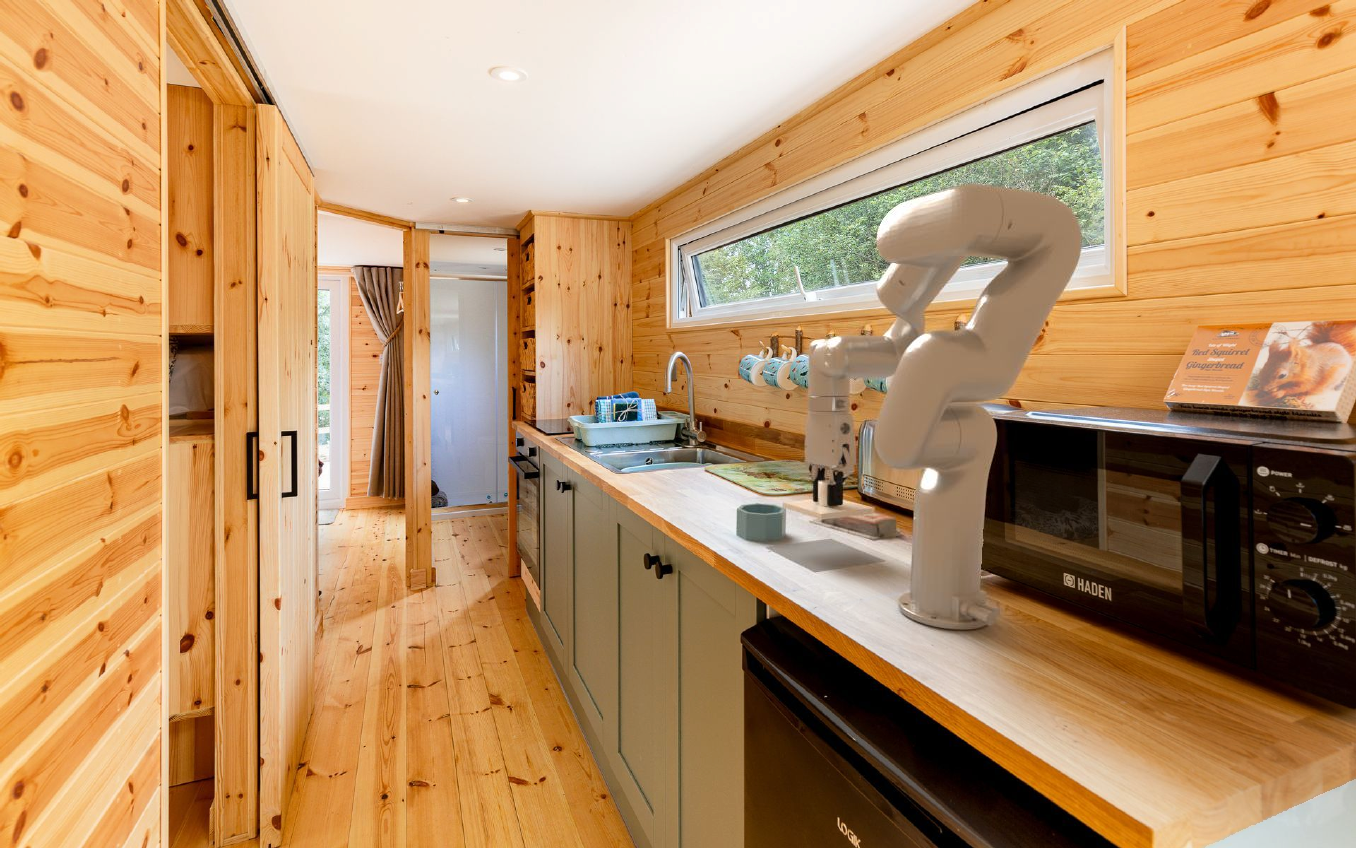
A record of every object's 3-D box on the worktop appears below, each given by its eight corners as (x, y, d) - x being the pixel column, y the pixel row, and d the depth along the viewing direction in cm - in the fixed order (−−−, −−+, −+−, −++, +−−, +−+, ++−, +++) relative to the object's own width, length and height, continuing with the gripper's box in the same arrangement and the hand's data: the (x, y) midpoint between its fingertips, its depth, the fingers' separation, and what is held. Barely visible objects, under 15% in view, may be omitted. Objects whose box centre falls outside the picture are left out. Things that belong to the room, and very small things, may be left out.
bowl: (793, 540, 134) (793, 511, 133) (753, 545, 130) (753, 516, 129) (767, 528, 143) (768, 502, 142) (729, 533, 139) (730, 506, 138)
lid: (874, 513, 119) (875, 483, 119) (821, 519, 114) (821, 488, 114) (833, 502, 130) (833, 474, 129) (782, 507, 125) (783, 479, 124)
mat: (885, 562, 120) (885, 560, 120) (814, 574, 113) (814, 572, 113) (830, 540, 134) (831, 538, 134) (765, 549, 128) (765, 547, 128)
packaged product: (904, 515, 138) (874, 521, 133) (903, 537, 139) (873, 544, 133) (838, 499, 153) (808, 505, 147) (837, 519, 153) (808, 526, 148)
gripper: (875, 407, 115) (873, 509, 116) (817, 404, 130) (817, 494, 131) (841, 408, 111) (840, 513, 113) (786, 404, 126) (785, 497, 128)
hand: (827, 502), depth 122 cm, fingers closed on lid, 3 cm apart
